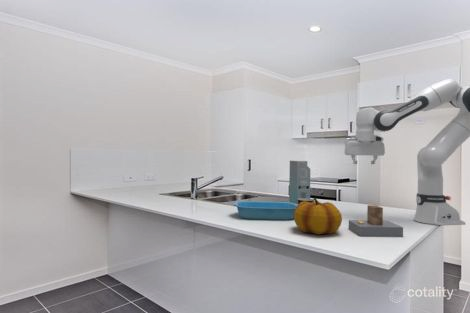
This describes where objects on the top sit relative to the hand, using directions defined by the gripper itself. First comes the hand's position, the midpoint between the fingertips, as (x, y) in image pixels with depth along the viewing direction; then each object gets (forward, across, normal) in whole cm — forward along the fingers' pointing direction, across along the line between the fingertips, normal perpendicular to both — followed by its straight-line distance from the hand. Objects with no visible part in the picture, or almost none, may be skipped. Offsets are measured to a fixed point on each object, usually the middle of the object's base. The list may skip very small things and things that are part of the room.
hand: (364, 164), depth 164 cm
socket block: (+29, -7, -29) cm, 42 cm away
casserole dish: (+30, -51, +3) cm, 59 cm away
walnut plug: (+29, -7, -29) cm, 41 cm away
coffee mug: (+29, -30, +1) cm, 42 cm away
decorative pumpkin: (+30, -32, -28) cm, 52 cm away
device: (+29, -30, +21) cm, 47 cm away
